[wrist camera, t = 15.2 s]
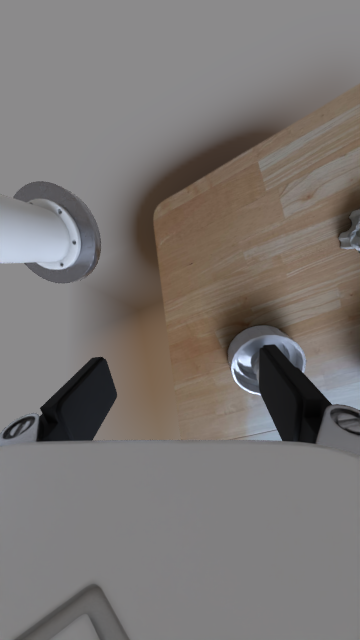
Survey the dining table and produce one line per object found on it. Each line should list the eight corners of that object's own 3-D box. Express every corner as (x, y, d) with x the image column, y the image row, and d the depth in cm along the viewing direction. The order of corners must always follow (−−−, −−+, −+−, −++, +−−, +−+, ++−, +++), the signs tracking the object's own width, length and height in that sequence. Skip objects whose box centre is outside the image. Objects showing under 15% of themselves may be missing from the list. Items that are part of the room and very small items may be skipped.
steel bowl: (220, 370, 42) (222, 386, 37) (238, 318, 38) (244, 327, 32) (276, 384, 42) (287, 401, 37) (302, 332, 37) (319, 344, 32)
